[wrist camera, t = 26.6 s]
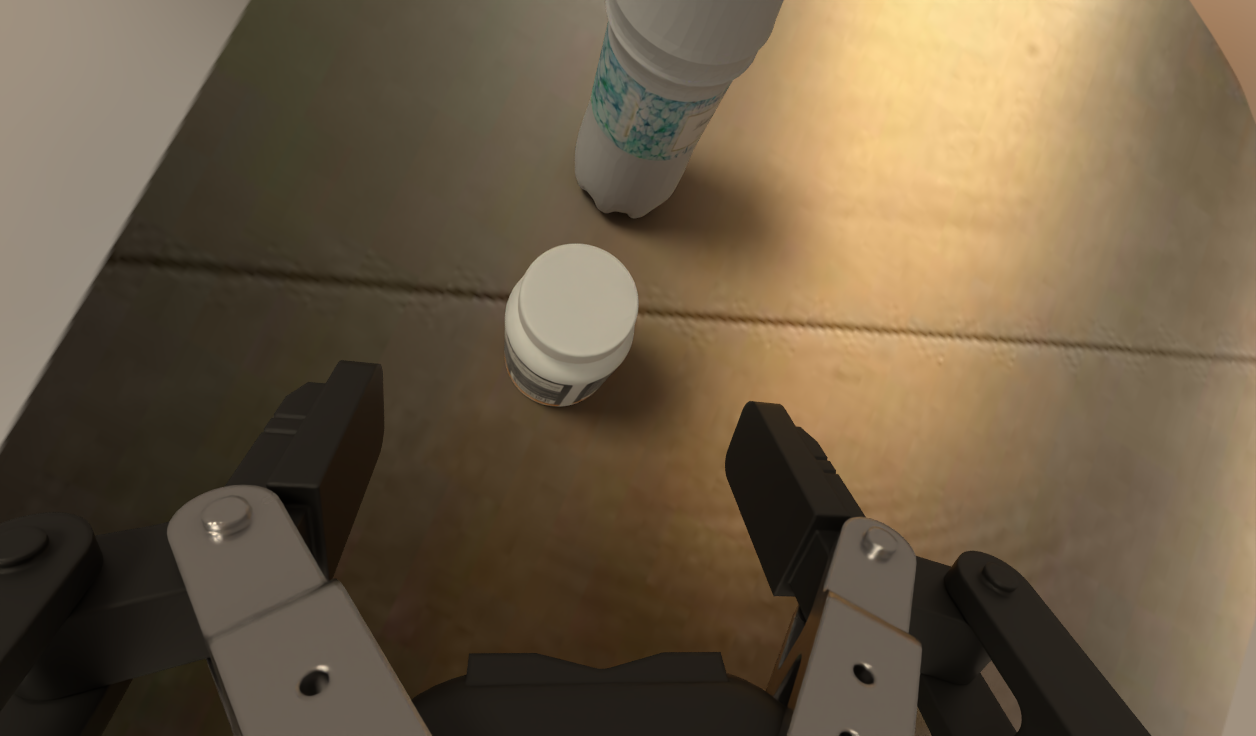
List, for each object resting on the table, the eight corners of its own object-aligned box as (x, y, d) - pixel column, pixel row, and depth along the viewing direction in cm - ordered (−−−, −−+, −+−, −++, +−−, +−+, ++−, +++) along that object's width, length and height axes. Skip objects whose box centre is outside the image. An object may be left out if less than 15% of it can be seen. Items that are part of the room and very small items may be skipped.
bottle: (644, 251, 34) (835, -71, 15) (546, 193, 33) (613, -221, 14) (689, 169, 36) (910, -207, 17) (598, 113, 35) (718, -343, 16)
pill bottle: (589, 299, 32) (627, 216, 23) (619, 393, 31) (672, 348, 22) (491, 322, 30) (488, 243, 21) (520, 422, 30) (530, 386, 20)
